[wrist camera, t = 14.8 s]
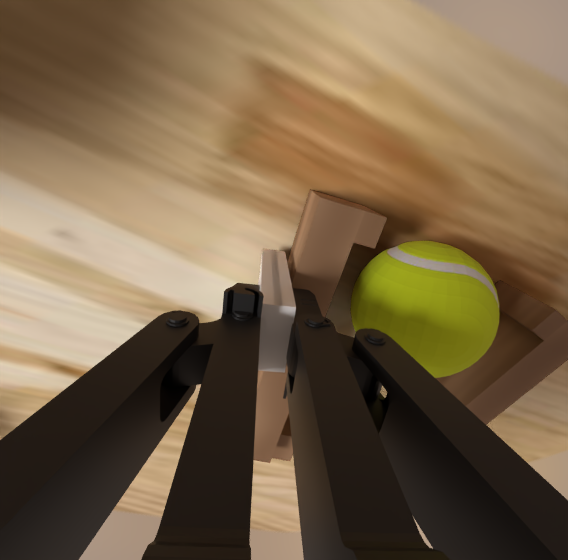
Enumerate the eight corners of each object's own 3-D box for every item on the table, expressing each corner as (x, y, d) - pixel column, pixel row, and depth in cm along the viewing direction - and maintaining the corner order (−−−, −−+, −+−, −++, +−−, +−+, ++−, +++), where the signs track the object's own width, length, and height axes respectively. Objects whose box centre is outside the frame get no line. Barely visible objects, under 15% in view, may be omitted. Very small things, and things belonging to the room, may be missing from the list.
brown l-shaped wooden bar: (293, 422, 22) (298, 475, 19) (465, 249, 18) (515, 272, 14) (357, 458, 24) (373, 514, 20) (529, 306, 20) (590, 341, 16)
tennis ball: (464, 232, 18) (568, 272, 11) (434, 335, 20) (506, 414, 14) (348, 223, 17) (391, 258, 11) (331, 329, 20) (358, 407, 13)
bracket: (238, 418, 22) (232, 469, 18) (309, 189, 16) (320, 197, 13) (288, 428, 22) (291, 479, 19) (373, 208, 17) (400, 221, 13)
